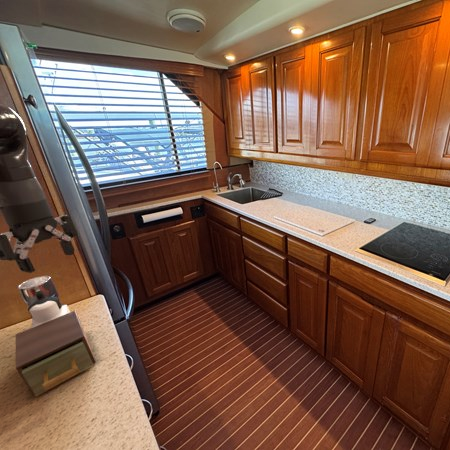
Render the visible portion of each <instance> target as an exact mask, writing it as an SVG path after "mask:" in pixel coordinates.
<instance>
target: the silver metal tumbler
mask: <svg viewBox="0 0 450 450" xmlns="http://www.w3.org/2000/svg"><path fill="white" fill-rule="evenodd" d="M56 286H57V285H55V282H54V281H53V279H52V278H51V276H49V275H40V276H36V277H33V278H30V279H27V280H25V281H23V282H22V283H20V284H19V285H18V286H17V289H18V290H19V293H20V296H21V298H22V300H23V302H24V304H25V305H26V306H27V308H29V306H30V305H31V304H33V303H34V302H36V301H38V300H40V299H43V298H47V297H58V298H59V301H60V302H61V300H60V294H59V290H58V288H57V287H56Z"/></svg>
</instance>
